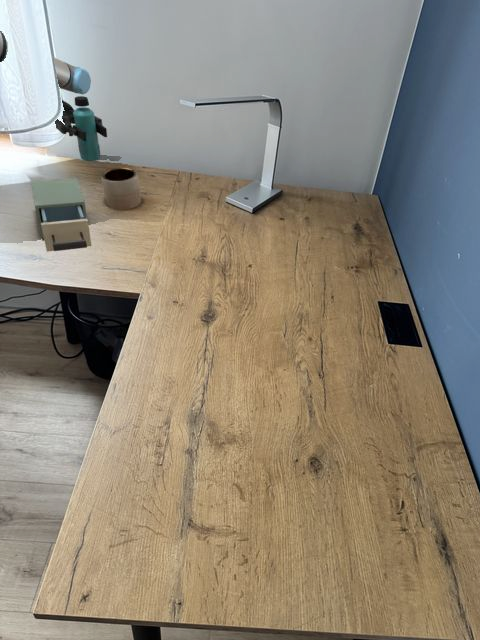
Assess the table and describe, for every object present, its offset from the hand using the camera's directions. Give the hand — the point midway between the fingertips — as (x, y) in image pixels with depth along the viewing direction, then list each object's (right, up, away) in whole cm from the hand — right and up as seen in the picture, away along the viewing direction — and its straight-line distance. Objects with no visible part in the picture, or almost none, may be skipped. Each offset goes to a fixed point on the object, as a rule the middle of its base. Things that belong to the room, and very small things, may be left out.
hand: (95, 134), depth 157 cm
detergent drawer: (-1, -39, -19) cm, 43 cm away
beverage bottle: (-5, -5, +10) cm, 12 cm away
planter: (+9, -21, +2) cm, 23 cm away
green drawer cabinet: (-6, -31, -11) cm, 33 cm away
